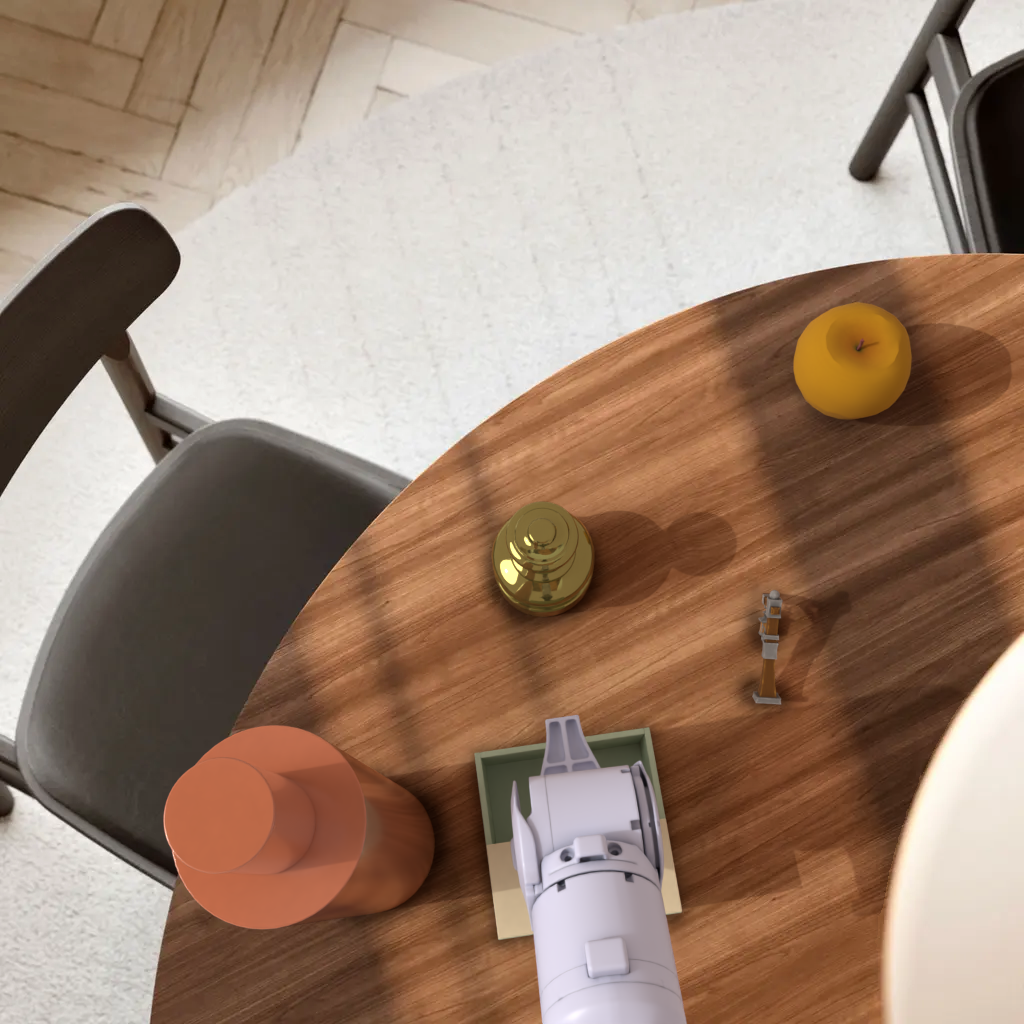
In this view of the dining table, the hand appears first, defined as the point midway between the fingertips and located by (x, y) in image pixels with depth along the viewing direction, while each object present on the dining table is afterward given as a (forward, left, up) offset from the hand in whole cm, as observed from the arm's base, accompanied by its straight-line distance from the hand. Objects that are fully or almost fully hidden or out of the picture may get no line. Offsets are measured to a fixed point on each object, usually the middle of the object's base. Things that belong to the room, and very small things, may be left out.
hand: (579, 848), depth 74 cm
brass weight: (+18, +10, -7) cm, 21 cm away
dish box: (+1, +1, -6) cm, 7 cm away
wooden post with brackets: (+18, -7, -7) cm, 21 cm away
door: (-2, -1, 0) cm, 2 cm away
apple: (+40, -6, -7) cm, 41 cm away
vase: (-5, +14, -6) cm, 16 cm away
